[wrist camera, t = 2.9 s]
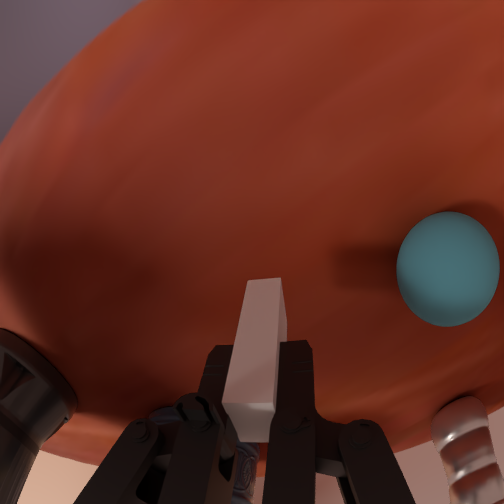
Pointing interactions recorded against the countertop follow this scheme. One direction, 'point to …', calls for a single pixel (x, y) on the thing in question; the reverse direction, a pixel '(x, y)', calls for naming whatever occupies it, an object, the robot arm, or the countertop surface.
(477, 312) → the ball
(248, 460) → the canister
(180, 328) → the countertop surface
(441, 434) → the plastic bottle
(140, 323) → the countertop surface
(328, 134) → the countertop surface
